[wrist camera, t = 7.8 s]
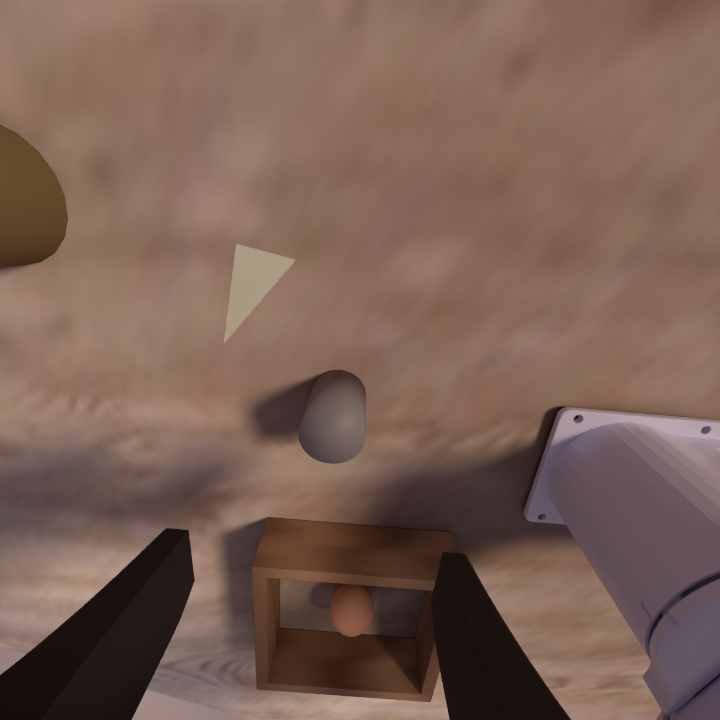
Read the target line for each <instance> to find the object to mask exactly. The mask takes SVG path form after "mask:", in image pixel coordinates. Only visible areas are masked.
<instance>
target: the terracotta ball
mask: <svg viewBox="0 0 720 720" xmlns="http://www.w3.org/2000/svg"><path fill="white" fill-rule="evenodd" d="M373 616H374V603H373V599H372V597H371V595H370V593H369V592H368V590H367V589H366V588H365V587H363V586H362V585H354V584H344V585H342V586H341V587H340V588H338V590H337V591H336V592H335V593H334V595H333V597H332V599H331V603H330V617H331V621H332V623H333V625H334V627H335V628H336V629H337V630H338V631H339V632H340V633H341V634H343V635H345V636H349V637H354V636H358V635H360V634H362V633H364V632H365V631H366V630H367V629H368V627H369V626H370V624H371V622H372V619H373Z"/></svg>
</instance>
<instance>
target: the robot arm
mask: <svg viewBox="0 0 720 720" xmlns="http://www.w3.org/2000/svg"><path fill="white" fill-rule="evenodd" d="M577 415H579V417H578V418H577V419H574V417H575V416H577ZM703 427H704V428H703ZM702 428H703V429H702ZM523 514H524V516H525V518H526V520H528V521H530V522H540V523H552V524H565V525H566V526H567V527H568V529H569V531H570V532H571V534H572V535H573V537H574V539H575V540H576V542H577V543H578V545H579V547H580V548H581V550H582V551H583V553H584V554H585V556H586V558H587V559H588V561H589V562H590V564H591V566H592V567H593V569H594V570H595V572H596V574H597V575H598V577H599V578H600V580H601V582H602V583H603V585H604V586H605V588H606V590H607V591H608V593H609V594H610V596H611V597H612V599H613V601H614V602H615V604H616V605H617V607H618V609H619V610H620V612H621V613H622V615H623V617H624V618H625V620H626V621H627V623H628V625H629V626H630V628H631V629H632V631H633V632H634V634H635V636H636V637H637V639H638V640H639V642H640V644H641V645H642V647H643V648H644V650H645V652H646V653H647V655H648V656H649V658H650V660H651V664H650V667H649V668H648V670H647V671H646V672H645V674H644V675H643V679H644V680H645V682H646V684H647V685H648V687H649V689H650V691H651V692H652V694H653V696H654V697H655V699H656V701H657V702H658V704H659V706H660V708H661V709H662V711H661V713H660V714H659V716H658V717H657V720H720V420H712V419H701V418H689V417H678V416H666V415H655V414H643V413H631V412H620V411H608V410H597V409H585V408H574V407H565V408H562V409H561V410H559V411H558V413H557V415H556V418H555V421H554V424H553V427H552V430H551V433H550V436H549V439H548V442H547V444H546V447H545V450H544V453H543V456H542V459H541V462H540V465H539V468H538V471H537V474H536V477H535V480H534V482H533V485H532V488H531V491H530V494H529V497H528V500H527V503H526V506H525V509H524V513H523ZM540 514H541V515H540ZM194 581H195V580H194V572H193V564H192V555H191V547H190V539H189V531H188V530H181V529H169V528H167V529H165V530H164V531H163V532H162V533H161V534H160V535H158V536H157V537H156V538H155V539H154V540H153V541H152V542H151V543H150V544H149V545H148V546H147V547H146V548H145V549H144V550H143V551H142V552H141V553H140V554H139V555H138V556H137V557H136V558H135V559H134V560H133V561H131V562H130V563H129V564H128V565H127V566H126V567H125V568H124V569H123V570H122V571H121V572H120V573H119V574H118V575H117V576H116V577H115V578H113V579H112V580H111V581H110V582H109V583H108V584H107V585H106V586H105V587H104V588H103V589H101V590H100V591H99V592H98V593H97V594H96V595H95V596H94V597H93V598H92V599H90V600H89V601H88V602H87V603H86V604H85V605H84V606H83V607H82V608H80V609H79V610H78V611H77V612H76V613H75V614H74V615H72V616H71V617H70V618H69V619H68V620H67V621H65V622H64V623H63V624H62V625H61V626H60V627H58V628H57V629H56V630H55V631H54V632H53V633H51V634H50V635H49V636H48V637H47V638H46V639H44V640H43V641H42V642H41V643H40V644H38V645H37V646H36V647H35V648H34V649H32V650H31V651H30V652H29V653H27V654H26V655H25V656H24V657H23V658H21V659H20V660H19V661H18V662H16V663H15V664H14V665H13V666H11V667H10V668H9V669H7V670H6V671H5V672H4V673H2V674H1V675H0V720H132V718H133V716H134V714H135V712H136V710H137V707H138V705H139V703H140V701H141V699H142V697H143V695H144V693H145V691H146V689H147V687H148V685H149V683H150V681H151V679H152V677H153V675H154V673H155V671H156V669H157V667H158V665H159V663H160V661H161V659H162V657H163V654H164V652H165V650H166V648H167V646H168V644H169V642H170V640H171V638H172V636H173V634H174V632H175V630H176V627H177V625H178V623H179V621H180V618H181V616H182V613H183V610H184V608H185V605H186V603H187V600H188V597H189V594H190V592H191V589H192V586H193V583H194ZM431 607H432V618H433V628H434V637H435V645H436V651H437V656H438V661H439V667H440V672H441V677H442V682H443V687H444V693H445V698H446V703H447V708H448V713H449V718H450V720H571V719H570V717H569V716H568V715H567V713H566V712H565V711H564V709H563V708H562V707H561V705H560V704H559V702H558V701H557V700H556V698H555V697H554V696H553V694H552V693H551V691H550V690H549V688H548V687H547V686H546V684H545V683H544V681H543V680H542V678H541V677H540V675H539V674H538V673H537V671H536V670H535V668H534V667H533V665H532V664H531V662H530V661H529V659H528V658H527V656H526V655H525V653H524V652H523V650H522V649H521V647H520V646H519V644H518V642H517V641H516V639H515V638H514V636H513V634H512V633H511V631H510V630H509V628H508V627H507V625H506V623H505V622H504V620H503V619H502V617H501V615H500V614H499V612H498V610H497V609H496V607H495V605H494V604H493V602H492V600H491V598H490V597H489V595H488V593H487V592H486V590H485V588H484V586H483V585H482V583H481V581H480V579H479V578H478V576H477V574H476V572H475V570H474V569H473V567H472V565H471V563H470V561H469V559H468V557H467V556H466V555H465V554H462V553H450V552H443V554H442V558H441V562H440V566H439V570H438V574H437V578H436V582H435V586H434V590H433V594H432V598H431Z"/></svg>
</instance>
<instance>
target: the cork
mask: <svg viewBox="0 0 720 720" xmlns="http://www.w3.org/2000/svg"><path fill="white" fill-rule="evenodd" d="M67 220H68V217H67V210H66V203H65V196H64V194H63V192H62V189H61V187H60V185H59V182H58V180H57V178H56V175H55V173H54V172H53V171H52V169H51V168H50V166H49V165H48V164H47V162H46V161H45V160H44V158H43V157H42V156H41V154H40V153H39V152H38V151H37V150H36V149H35V148H34V147H33V146H31V145H30V144H29V143H28V142H27V141H26V140H24V139H23V138H22V137H21V136H20V135H19V134H17V133H15V132H13V131H11V130H9V129H7V128H5V127H3V126H1V125H0V265H26V264H32V263H37V262H41V261H43V260H44V259H46V258H48V257H49V256H51V255H52V254H54V253H55V252H56V250H57V249H58V247H59V246H60V244H61V242H62V241H63V239H64V237H65V232H66V226H67Z"/></svg>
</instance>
